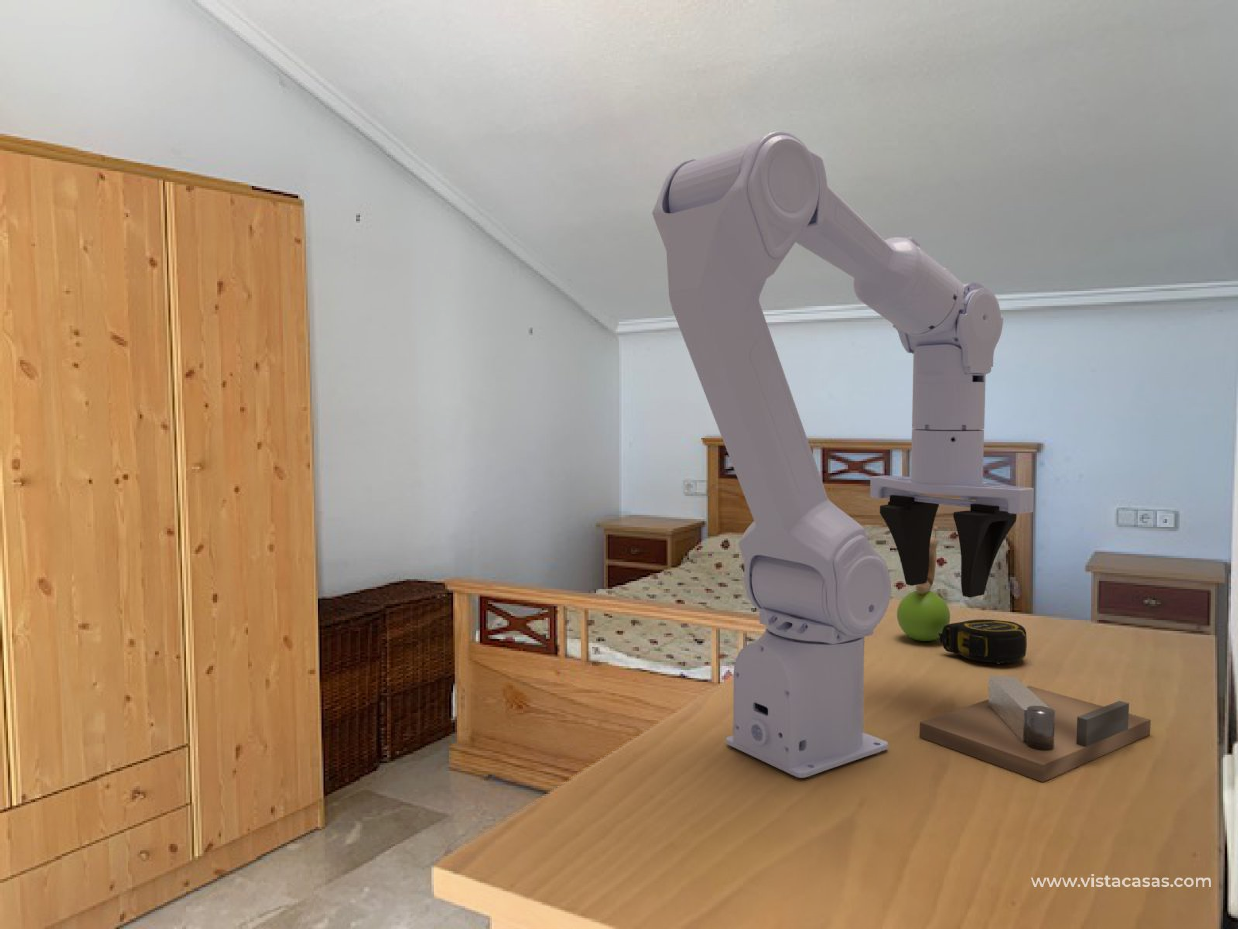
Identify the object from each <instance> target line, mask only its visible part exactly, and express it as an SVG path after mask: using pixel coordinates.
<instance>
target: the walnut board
mask: <svg viewBox="0 0 1238 929" xmlns="http://www.w3.org/2000/svg"><path fill="white" fill-rule="evenodd" d="M1026 687H1027V688H1028V689H1029V690H1030V691H1032V692H1033V693H1034V694H1035V695H1036V696H1037V697H1038V698H1039V699H1040V700H1042V701H1043V702H1044V703H1045V704H1046V705H1047V706H1048V707H1049V708H1051V709H1053V710H1054V711H1055V728H1054V748H1053V749H1051V750H1038V749H1034V748H1031V747H1029V746H1028V745H1027V744H1026V742H1022V740H1021V739H1020V738H1019V737H1018V736H1017V735H1016V734H1015V733H1014V732H1013V731H1012V730H1011V729H1010V727H1009V726H1008V725H1007V724H1006V723H1005V722H1004V721H1003V720H1002V719H1001V718H1000V717H999V716H998V714H997V713H996V712H995V711H994V710H993V709H992V708H991V707H990V706H989V698H988V699H985V700H983V701H979V702H977V703H973V704H971V705H967V706H963V707H961V708H959V709H955V710H952V711H949V712H946V713H943V714H939V715H937V716H934V717H931V718H928V719H925V720H921V721H919V738H921V739H924V740H926V741H929V742H932V743H934V744H937V745H940V746H943V747H946V748H949V749H951V750H954V751H956V752H960V753H962V754H964V755H968V756H970V757H973V758H976V759H978V760H982V761H983V762H987V763H989V764H992V765H994V766H998V767H1000V768H1002V769H1005V770H1009V771H1011V772H1014V773H1017V774H1020V775H1023V776H1025V777H1028V778H1030V779H1033V780H1036V781H1038V782H1041V783H1044V782H1047V781H1049V780H1051V779H1053V778H1055V777H1057V776H1061V775H1062V774H1065V773H1067V772H1069V771H1071V770H1074V769H1076V768H1078V767H1081V766H1083V765H1085V764H1087V763H1089V762H1092V761H1093V760H1094V761H1095V760H1097V759H1098V758H1100V757H1103V756H1105V755H1108V754H1109V753H1113V752H1114V751H1116V750H1118V749H1121V748H1123V747H1125V746H1128V745H1130V744H1132V743H1134V742H1136V741H1139V740H1142V739H1143V738H1146V737H1148V736H1151V722H1152V720H1151V719H1150V718H1148V717H1147V718H1146V717H1142V716H1139V715H1135V714H1132V713H1129V711H1130V703H1129V702H1125V701H1122V700H1118V701H1116V702H1113V703H1110V704H1107V705H1104V706H1103V705H1099V704H1095V703H1092V702H1090V701H1089V702H1088V701H1085V700H1081V699H1078V698H1074V697H1070V696H1067V695H1063V694H1061V693H1057V692H1052V691H1050V690H1045V689H1042V688H1039V687H1035V686H1031V685H1028V686H1026Z"/></svg>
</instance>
